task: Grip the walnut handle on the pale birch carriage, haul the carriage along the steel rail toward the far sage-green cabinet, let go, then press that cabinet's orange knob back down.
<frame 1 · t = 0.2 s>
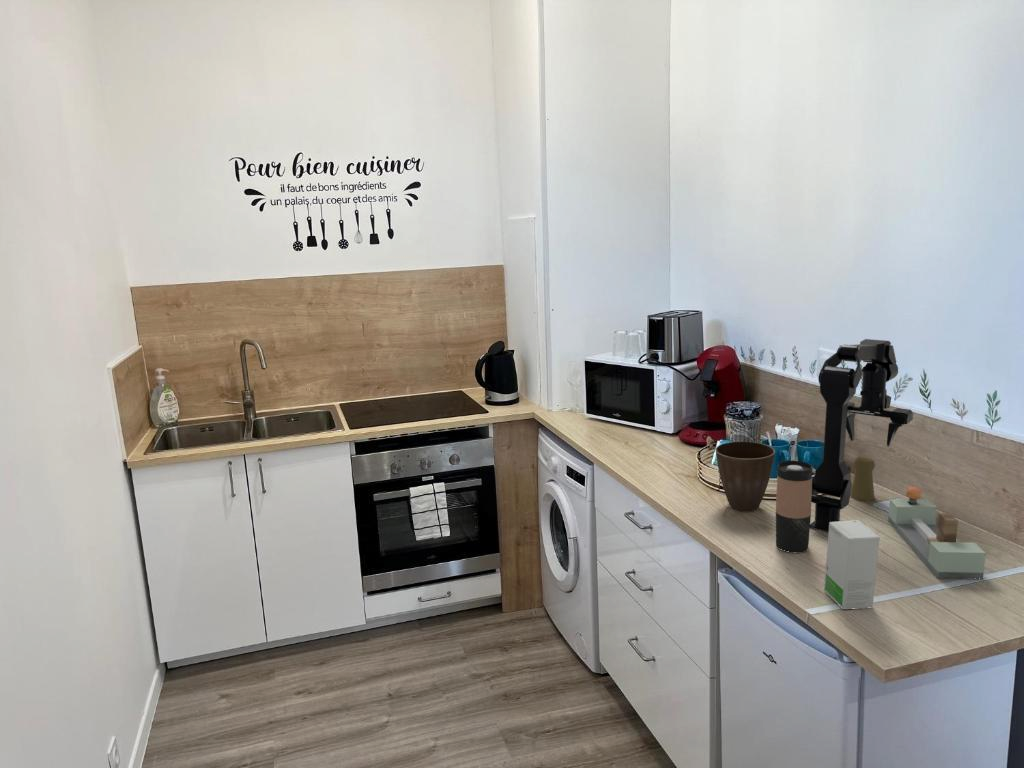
hand: (870, 443, 204), 15 cm above the worktop, tool pointing down, fingers open, 9 cm apart
carriage: (946, 532, 166), point 7 cm above the worktop, slide at 0.0 cm
plant pot: (743, 507, 203), on the worktop
travel mug: (791, 547, 178), on the worktop
rail bench: (931, 548, 174), on the worktop
orange knob: (913, 496, 184), point 8 cm above the worktop, slide at 1.6 cm
cork: (862, 497, 206), on the worktop
skincare box: (849, 600, 153), on the worktop
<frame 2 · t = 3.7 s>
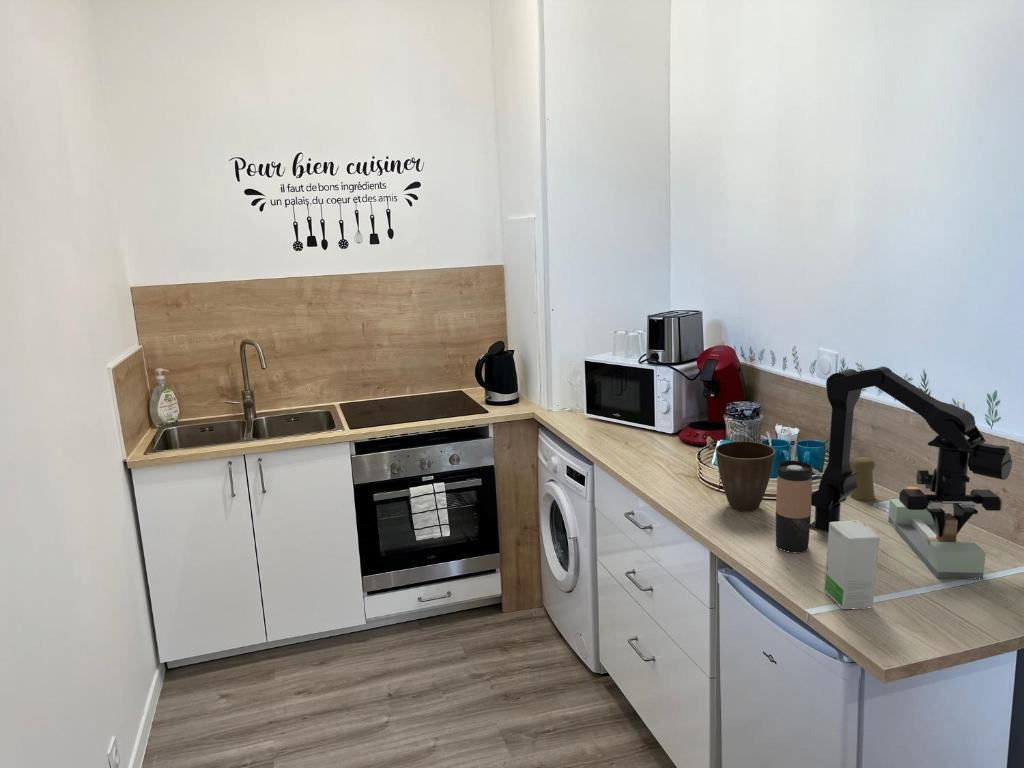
hand: (946, 536, 166), 6 cm above the worktop, tool pointing down, fingers closed on carriage, 2 cm apart
carriage: (946, 532, 166), point 7 cm above the worktop, slide at 0.0 cm, touching gripper
everything else where it was.
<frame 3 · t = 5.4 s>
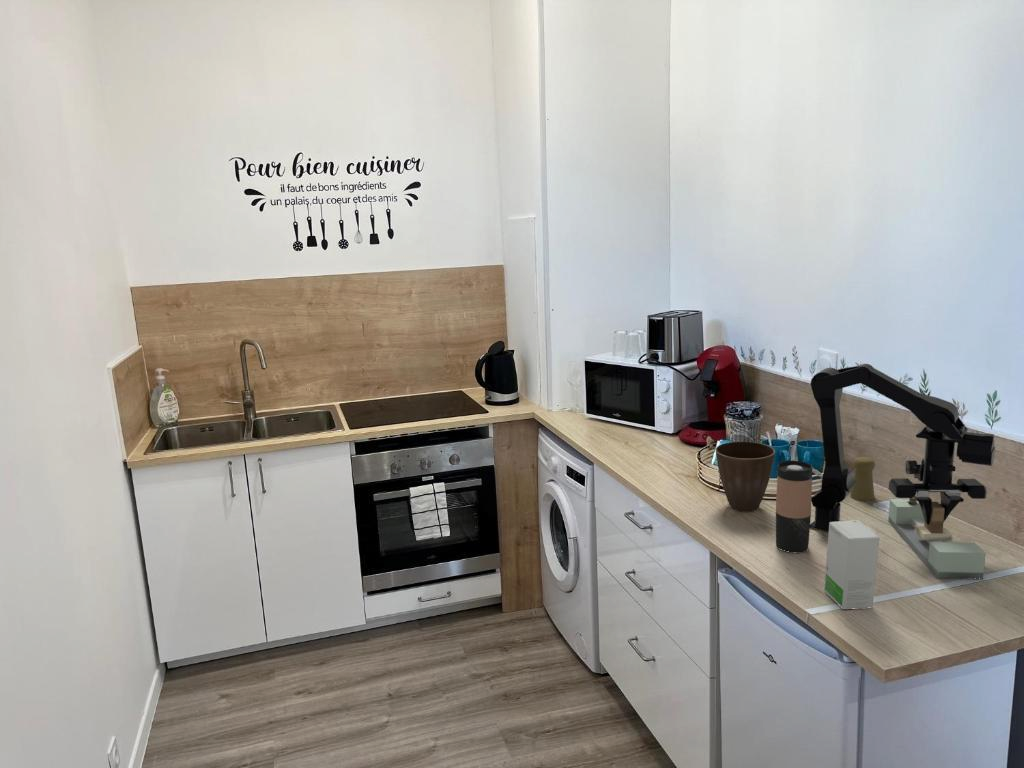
hand: (933, 523, 173), 6 cm above the worktop, tool pointing down, fingers closed on carriage, 2 cm apart
carriage: (934, 520, 172), point 7 cm above the worktop, slide at 6.9 cm, touching gripper
everything else where it was.
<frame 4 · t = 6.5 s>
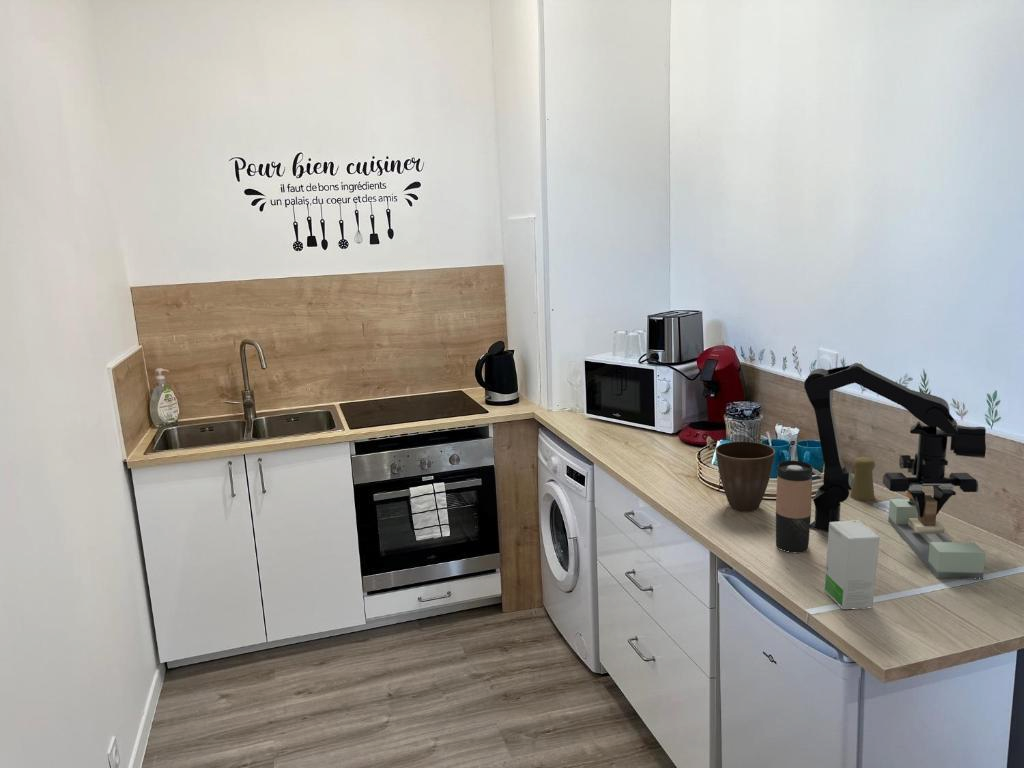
hand: (926, 516, 176), 6 cm above the worktop, tool pointing down, fingers closed on carriage, 2 cm apart
carriage: (927, 513, 176), point 7 cm above the worktop, slide at 10.9 cm, touching gripper
everything else where it was.
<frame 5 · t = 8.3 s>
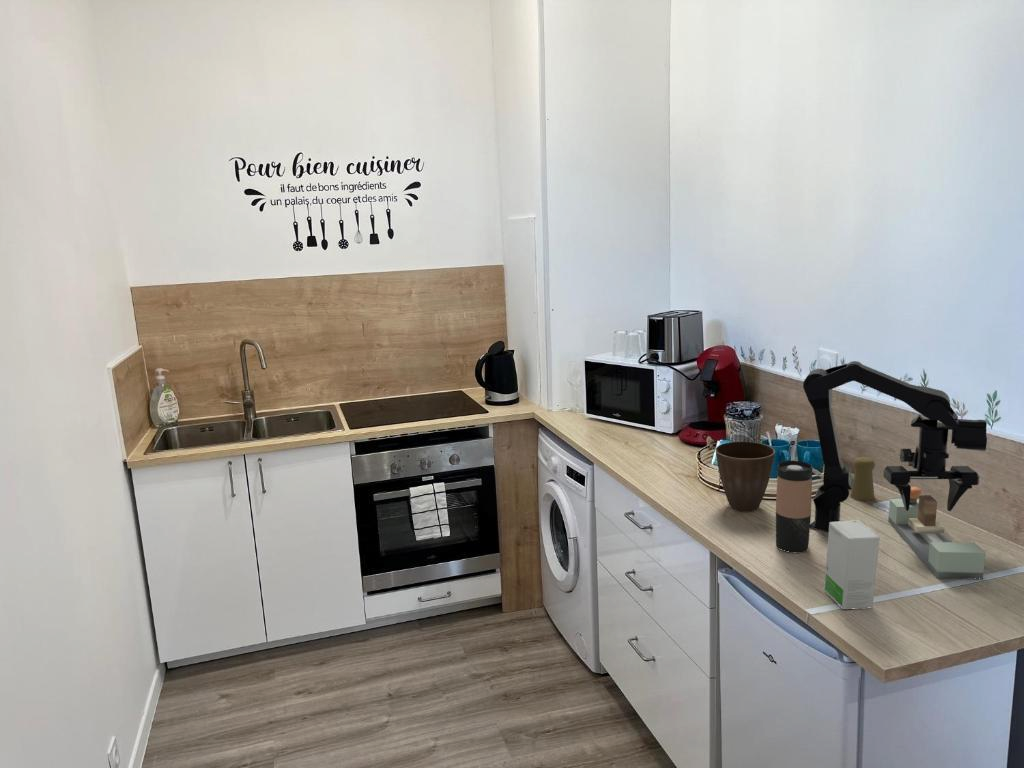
hand: (927, 510, 176), 8 cm above the worktop, tool pointing down, fingers open, 9 cm apart
carriage: (927, 513, 176), point 7 cm above the worktop, slide at 10.9 cm
everything else where it was.
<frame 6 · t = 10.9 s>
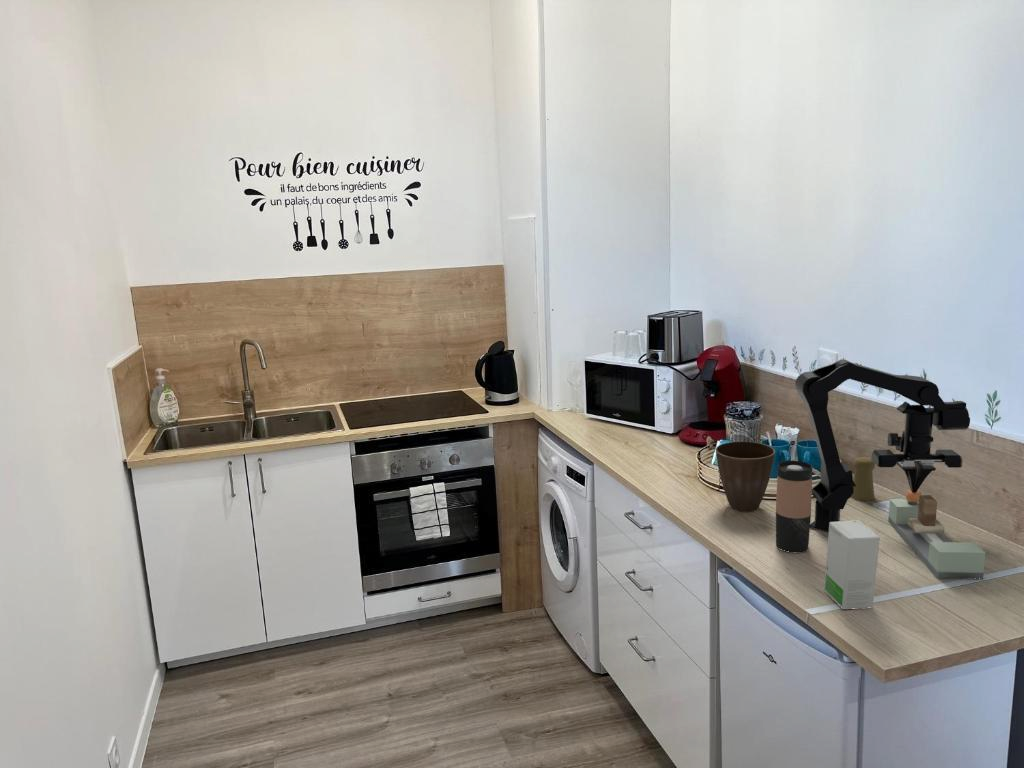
hand: (913, 492, 184), 9 cm above the worktop, tool pointing down, fingers closed, pressing on orange knob
orange knob: (913, 499, 185), point 7 cm above the worktop, slide at 0.8 cm, touching gripper
everything else where it was.
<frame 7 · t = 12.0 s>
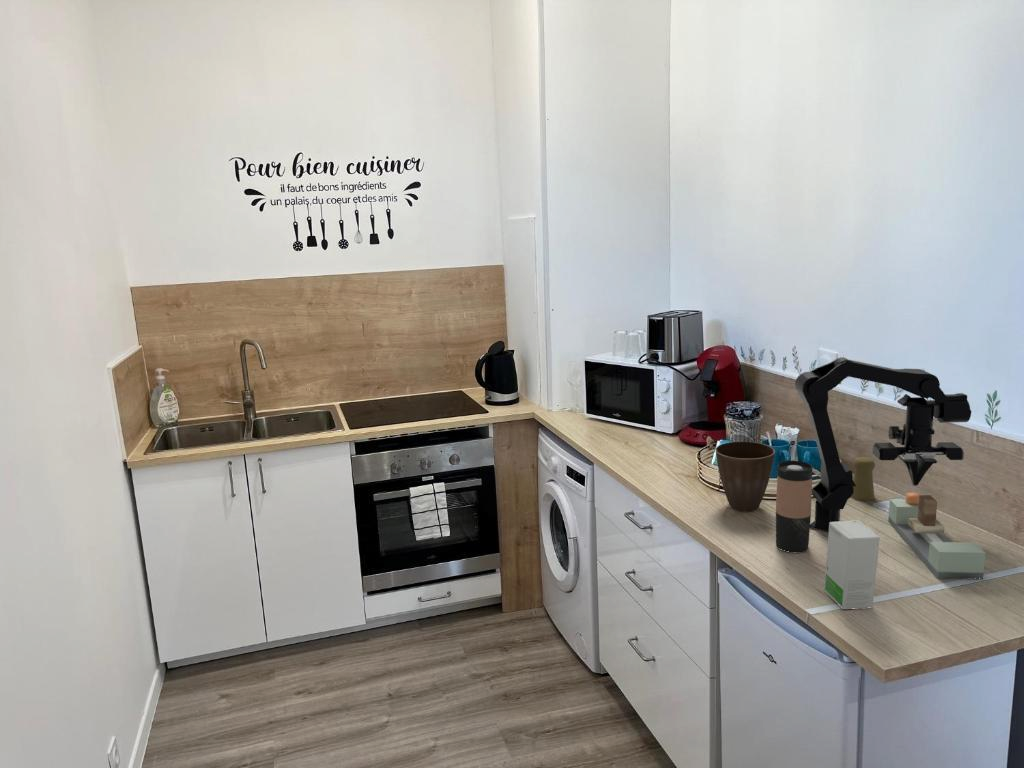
hand: (914, 485, 184), 11 cm above the worktop, tool pointing down, fingers closed
orange knob: (912, 502, 185), point 6 cm above the worktop, slide at 0.0 cm
everything else where it was.
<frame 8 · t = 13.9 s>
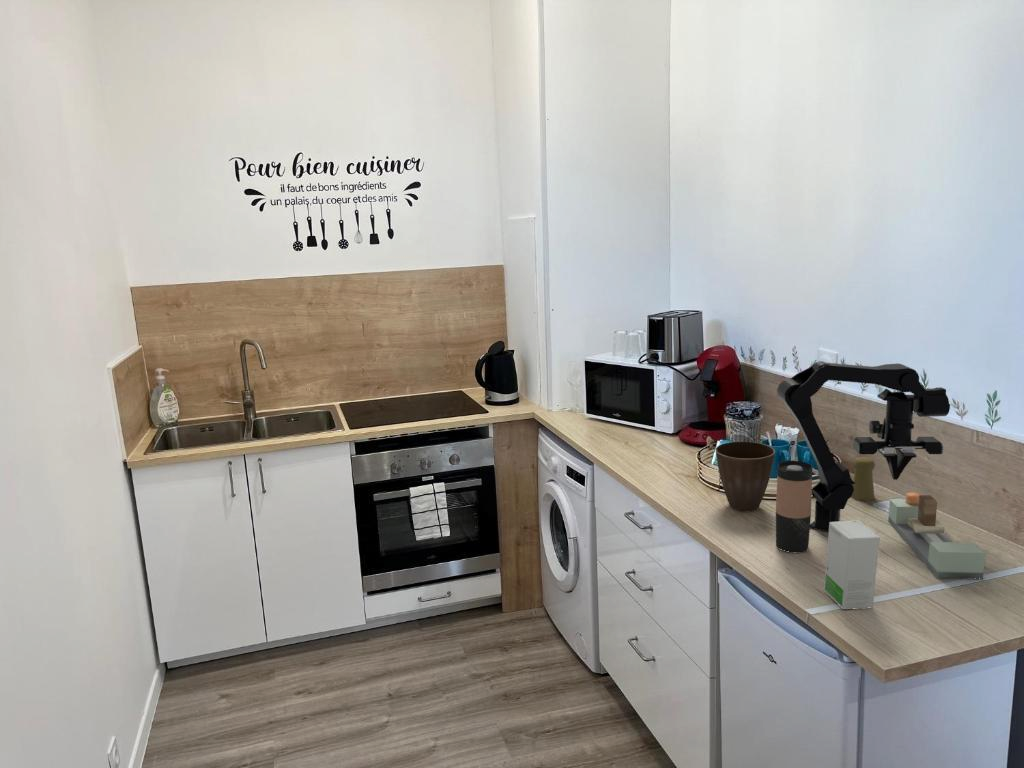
hand: (894, 479, 184), 12 cm above the worktop, tool pointing down, fingers closed
nothing on the worktop moved.
at the end: carriage slide at 10.9 cm; orange knob slide at 0.0 cm; the gripper is holding nothing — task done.
